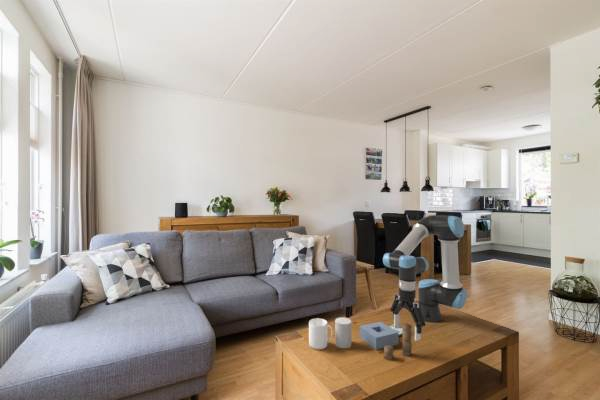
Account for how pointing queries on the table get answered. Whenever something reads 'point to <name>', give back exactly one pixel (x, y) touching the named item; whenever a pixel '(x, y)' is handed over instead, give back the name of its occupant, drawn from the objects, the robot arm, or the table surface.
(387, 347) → the short dowel
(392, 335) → the socket block
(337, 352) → the table surface
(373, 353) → the table surface
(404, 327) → the long dowel
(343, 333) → the cup
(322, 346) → the mug
